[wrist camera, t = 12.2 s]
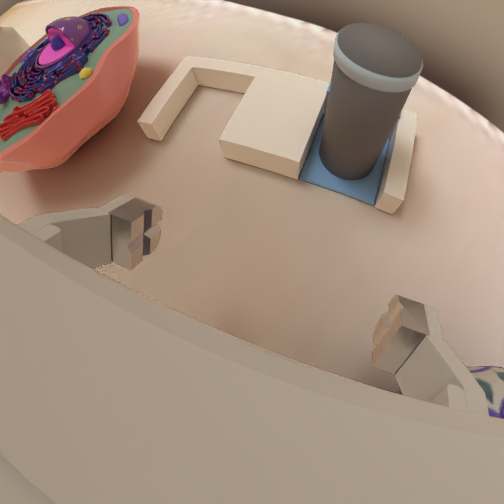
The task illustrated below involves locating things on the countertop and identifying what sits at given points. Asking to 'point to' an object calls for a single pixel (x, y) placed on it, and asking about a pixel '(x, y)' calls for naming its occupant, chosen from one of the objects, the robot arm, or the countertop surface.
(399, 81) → the stub
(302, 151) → the cream holder tray
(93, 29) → the cell model
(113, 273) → the countertop surface
